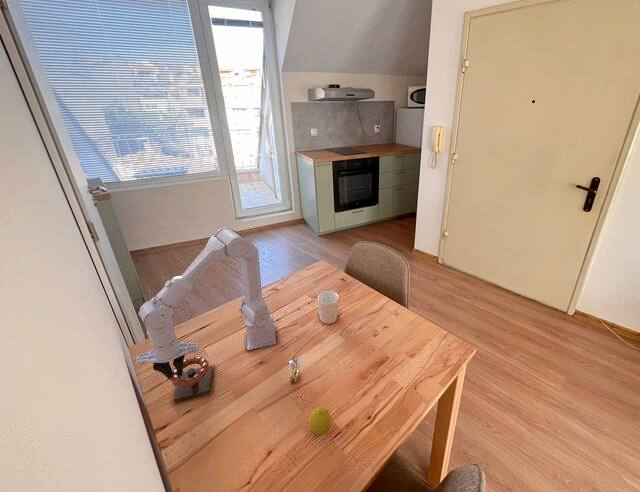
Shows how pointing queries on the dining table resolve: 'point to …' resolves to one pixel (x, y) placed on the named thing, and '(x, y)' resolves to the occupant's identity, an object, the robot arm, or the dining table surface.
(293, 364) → the ring
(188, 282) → the robot arm
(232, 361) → the dining table surface
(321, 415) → the lemon
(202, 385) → the stand
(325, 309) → the white cup
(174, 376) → the hoop
